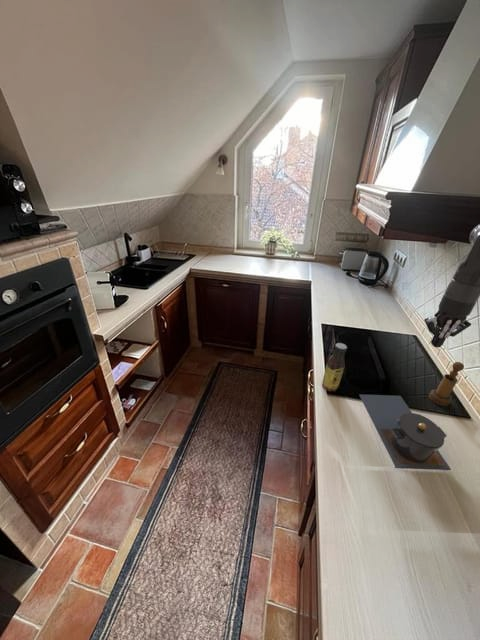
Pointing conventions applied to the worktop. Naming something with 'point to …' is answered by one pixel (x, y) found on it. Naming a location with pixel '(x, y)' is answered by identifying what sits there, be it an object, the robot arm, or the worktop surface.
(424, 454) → the pot
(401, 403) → the mat
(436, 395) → the wooden pepper mill
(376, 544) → the worktop surface
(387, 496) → the worktop surface
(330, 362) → the sauce bottle
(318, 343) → the worktop surface
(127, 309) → the worktop surface
